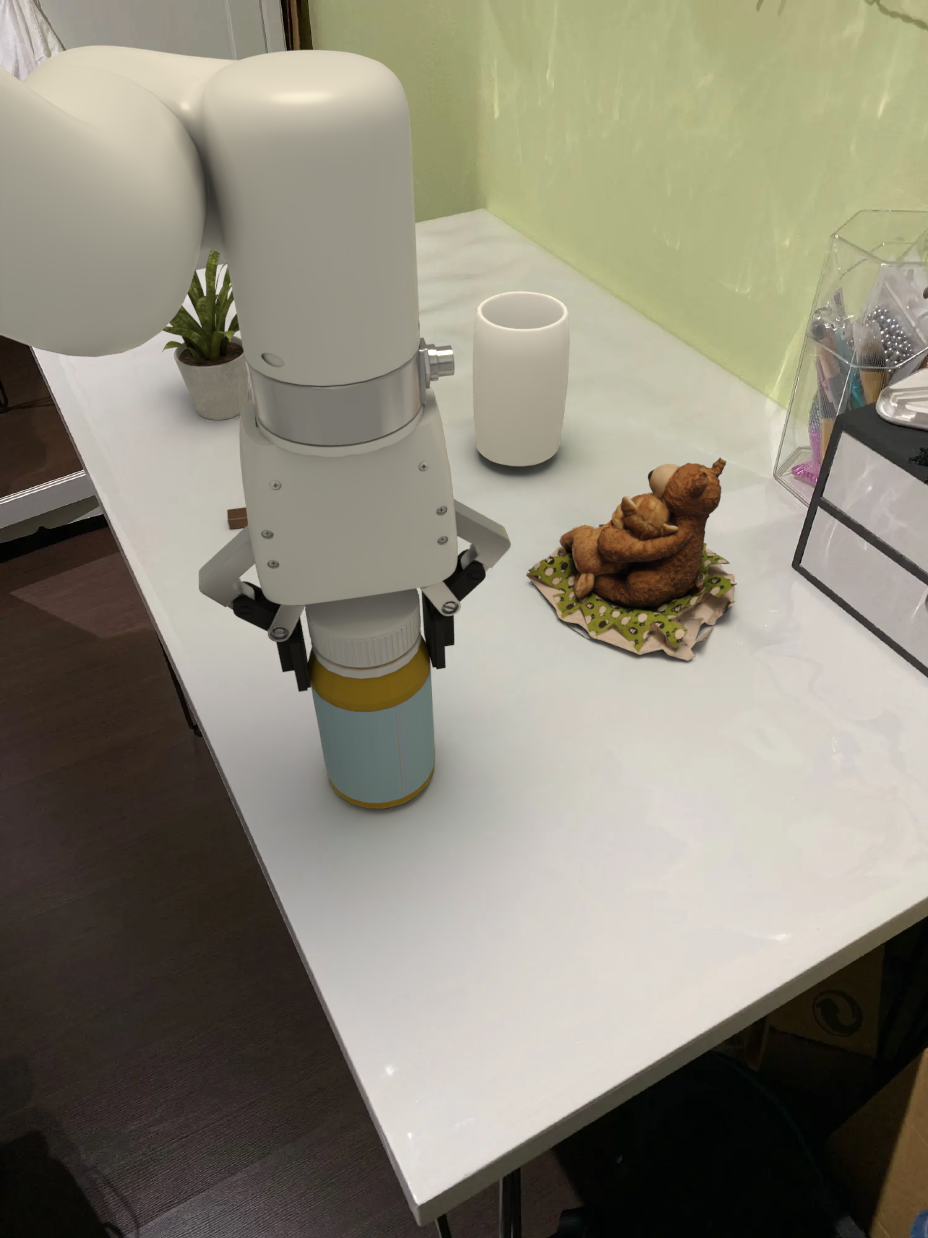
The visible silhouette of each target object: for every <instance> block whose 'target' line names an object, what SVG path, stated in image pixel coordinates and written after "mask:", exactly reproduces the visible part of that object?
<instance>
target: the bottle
mask: <svg viewBox="0 0 928 1238" xmlns="http://www.w3.org/2000/svg"><path fill="white" fill-rule="evenodd" d="M420 600H421V599H420V594H419V591H418V588H415V589H409V590H403V591H397V592H390V593H384V594H377V595H371V596H364V597H357V598H350V599H343V600H336V601H329V602H321V603H314V604H306V605H305V607H304V610H305V618H306V623H307V630H308V634H309V638H310V645H311V648H310V652H309V656H308V668H309V675H310V683H311V688H310V689H311V694H312V700H313V706H314V711H315V717H316V723H317V727H318V731H319V737H320V738H319V739H320V744H321V750H322V754H323V760H324V765H325V769H326V775H327V778H328V782H329V784H330V786H331V787H332V789H333V790H334V791H335V793H336V794H337V795H338V796H339V797H341V798H342V799H343V800H345V801H346V802H348V803H350V804H352V805H355V806H358V807H362V808H366V809H389V808H393V807H397V806H400V805H403V804H405V803H407V802H408V801H411V800H412V799H414V798H416V797H417V796H418V795H420V793H421V792H423V790H424V789H425V788H426V787H427V786H428V785H429V783H430V781H431V778H432V777H433V774H434V772H435V763H436V762H435V761H436V759H435V758H436V750H435V749H436V747H435V745H436V744H435V727H434V707H433V685H432V663H431V660H430V654H429V650H428V647H427V644H426V641H425V637H424V635H423V634H422V630H421V627H422V624H421V623H422V619H421V617H422V615H421V602H420Z"/></svg>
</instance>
